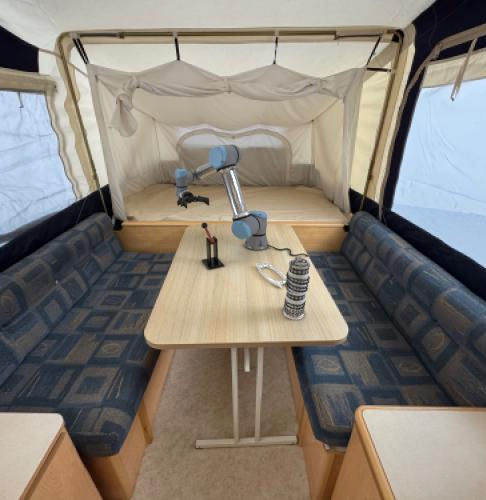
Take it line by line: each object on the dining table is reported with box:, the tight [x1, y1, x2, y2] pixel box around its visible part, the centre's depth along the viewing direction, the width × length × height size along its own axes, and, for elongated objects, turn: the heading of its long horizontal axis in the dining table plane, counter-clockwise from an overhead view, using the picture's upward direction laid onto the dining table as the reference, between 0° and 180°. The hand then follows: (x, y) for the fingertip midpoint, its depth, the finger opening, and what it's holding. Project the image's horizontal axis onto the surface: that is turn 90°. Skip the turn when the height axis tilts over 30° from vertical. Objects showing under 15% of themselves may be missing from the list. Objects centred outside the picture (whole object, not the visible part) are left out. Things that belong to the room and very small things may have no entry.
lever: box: [200, 221, 215, 246], centre depth 148 cm, size 15×4×4 cm, turn 27°
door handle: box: [255, 261, 287, 289], centre depth 139 cm, size 3×10×25 cm
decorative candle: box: [283, 256, 311, 321], centre depth 106 cm, size 9×9×25 cm
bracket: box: [201, 235, 225, 271], centre depth 148 cm, size 11×9×16 cm
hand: (197, 204), depth 155 cm, fingers open, 13 cm apart
